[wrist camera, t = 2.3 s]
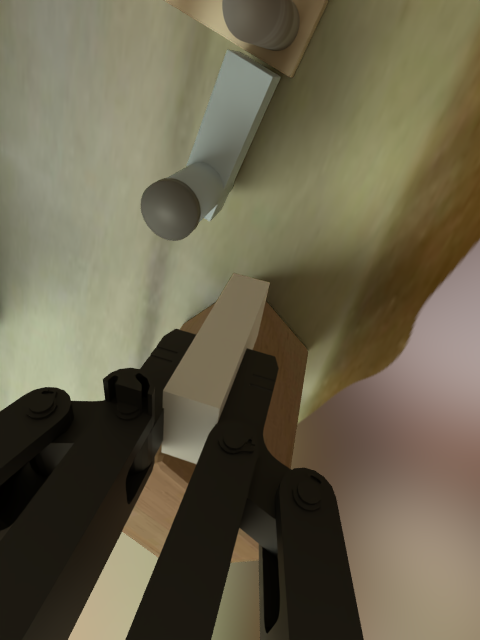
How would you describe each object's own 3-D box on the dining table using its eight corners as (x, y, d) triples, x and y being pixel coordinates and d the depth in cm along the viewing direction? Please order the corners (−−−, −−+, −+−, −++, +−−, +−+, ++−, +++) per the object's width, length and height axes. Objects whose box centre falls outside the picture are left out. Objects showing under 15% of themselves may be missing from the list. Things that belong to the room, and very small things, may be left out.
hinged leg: (186, 189, 28) (133, 226, 21) (237, 50, 22) (186, 39, 15) (223, 210, 29) (182, 254, 22) (283, 78, 23) (254, 80, 16)
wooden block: (249, 278, 34) (159, 461, 18) (310, 350, 37) (279, 562, 21) (182, 323, 39) (66, 495, 23) (240, 382, 42) (173, 571, 26)
